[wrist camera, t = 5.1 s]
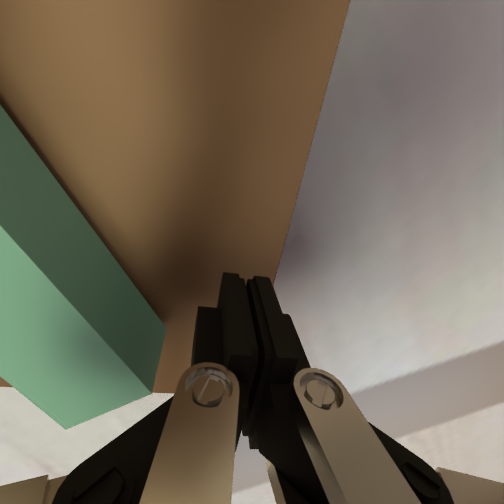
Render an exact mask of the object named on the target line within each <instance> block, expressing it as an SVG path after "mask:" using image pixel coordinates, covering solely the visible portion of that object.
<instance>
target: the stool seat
mask: <svg viewBox="0 0 504 504" xmlns="http://www.w3.org/2000/svg"><path fill="white" fill-rule="evenodd" d="M349 3H350V0H0V105H1V106H2V108H3V109H4V110H5V112H6V113H7V114H8V116H9V117H10V118H11V120H12V121H13V122H14V124H15V125H16V126H17V128H18V129H19V130H20V132H21V133H22V135H23V136H24V137H25V139H26V140H27V141H28V143H29V144H30V145H31V147H32V148H33V149H34V151H35V152H36V153H37V155H38V156H39V157H40V159H41V160H42V161H43V163H44V164H45V165H46V167H47V168H48V169H49V171H50V172H51V174H52V175H53V176H54V178H55V179H56V180H57V182H58V183H59V184H60V186H61V187H62V188H63V190H64V191H65V192H66V194H67V195H68V196H69V198H70V199H71V200H72V202H73V203H74V204H75V206H76V207H77V208H78V210H79V211H80V212H81V214H82V215H83V217H84V218H85V219H86V221H87V222H88V223H89V225H90V226H91V227H92V229H93V230H94V231H95V233H96V234H97V235H98V237H99V238H100V239H101V241H102V242H103V243H104V245H105V246H106V247H107V249H108V250H109V251H110V253H111V254H112V255H113V257H114V258H115V260H116V261H117V262H118V264H119V265H120V266H121V268H122V269H123V270H124V272H125V273H126V274H127V276H128V277H129V278H130V280H131V281H132V282H133V284H134V285H135V286H136V288H137V289H138V290H139V292H140V293H141V294H142V296H143V297H144V298H145V300H146V301H147V303H148V304H149V305H150V307H151V308H152V309H153V311H154V312H155V313H156V315H157V316H158V317H159V319H160V320H161V321H162V323H163V324H164V325H165V327H166V328H167V329H166V334H165V338H164V342H163V347H162V351H161V356H160V360H159V364H158V369H157V373H156V378H155V382H154V386H153V391H152V392H154V393H175V391H176V388H177V385H178V382H179V379H180V377H181V376H182V374H183V373H184V372H185V371H186V370H187V369H188V368H189V367H191V358H192V347H193V338H194V330H195V323H196V316H197V310H198V306H203V307H214V308H217V303H218V297H219V291H220V286H221V280H222V275H223V272H228V273H237V274H239V277H240V278H244V280H245V285H246V283H247V280H248V279H253V276H263V277H269V278H270V280H271V283H272V286H273V284H274V280H275V276H276V273H277V269H278V265H279V262H280V258H281V254H282V251H283V247H284V243H285V239H286V236H287V232H288V228H289V225H290V221H291V217H292V214H293V210H294V206H295V203H296V199H297V195H298V191H299V188H300V184H301V180H302V177H303V173H304V169H305V166H306V162H307V158H308V155H309V151H310V147H311V143H312V140H313V136H314V132H315V129H316V125H317V121H318V118H319V114H320V110H321V107H322V103H323V99H324V96H325V92H326V88H327V84H328V81H329V77H330V73H331V70H332V66H333V62H334V59H335V55H336V51H337V48H338V44H339V40H340V36H341V33H342V29H343V25H344V22H345V18H346V14H347V11H348V7H349ZM0 387H13V386H12V385H10V384H9V383H8V382H7V381H5V380H4V379H3V378H2V377H0Z"/></svg>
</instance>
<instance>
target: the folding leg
mask: <svg viewBox="0 0 504 504" xmlns="http://www.w3.org/2000/svg"><path fill="white" fill-rule="evenodd" d="M166 329H167V328H166V327H165V325H164V324H163V323H162V321H161V320H160V319H159V317H158V316H157V315H156V313H155V312H154V311H153V309H152V308H151V307H150V305H149V304H148V303H147V301H146V300H145V298H144V297H143V296H142V294H141V293H140V292H139V290H138V289H137V288H136V286H135V285H134V284H133V282H132V281H131V280H130V278H129V277H128V276H127V274H126V273H125V272H124V270H123V269H122V268H121V266H120V265H119V264H118V262H117V261H116V260H115V258H114V257H113V255H112V254H111V253H110V251H109V250H108V249H107V247H106V246H105V245H104V243H103V242H102V241H101V239H100V238H99V237H98V235H97V234H96V233H95V231H94V230H93V229H92V227H91V226H90V225H89V223H88V222H87V221H86V219H85V218H84V217H83V215H82V214H81V212H80V211H79V210H78V208H77V207H76V206H75V204H74V203H73V202H72V200H71V199H70V198H69V196H68V195H67V194H66V192H65V191H64V190H63V188H62V187H61V186H60V184H59V183H58V182H57V180H56V179H55V178H54V176H53V175H52V174H51V172H50V171H49V169H48V168H47V167H46V165H45V164H44V163H43V161H42V160H41V159H40V157H39V156H38V155H37V153H36V152H35V151H34V149H33V148H32V147H31V145H30V144H29V143H28V141H27V140H26V139H25V137H24V136H23V135H22V133H21V132H20V130H19V129H18V128H17V126H16V125H15V124H14V122H13V121H12V120H11V118H10V117H9V116H8V114H7V113H6V112H5V110H4V109H3V108H2V106H1V105H0V377H2V378H3V379H4V380H5V381H7V382H8V383H9V384H10V385H12V386H13V387H14V388H15V389H16V390H18V391H19V392H20V393H21V394H23V395H24V396H25V397H26V398H28V399H29V400H30V401H31V402H32V403H34V404H35V405H36V406H37V407H39V408H40V409H41V410H42V411H43V412H45V413H46V414H47V415H48V416H50V417H51V418H52V419H53V420H55V421H56V422H57V423H58V424H59V425H61V426H62V427H63V428H64V429H68V428H71V427H73V426H76V425H78V424H80V423H83V422H85V421H87V420H90V419H92V418H95V417H97V416H99V415H102V414H104V413H107V412H109V411H111V410H114V409H116V408H119V407H121V406H123V405H126V404H128V403H130V402H133V401H135V400H138V399H140V398H142V397H145V396H147V395H150V394H152V391H153V386H154V382H155V378H156V373H157V369H158V364H159V360H160V356H161V351H162V347H163V342H164V338H165V334H166Z"/></svg>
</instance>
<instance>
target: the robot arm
mask: <svg viewBox="0 0 504 504" xmlns="http://www.w3.org/2000/svg"><path fill="white" fill-rule="evenodd" d="M241 430H242V434H243V436H248V437H249V445H250V449H259V452H260V453H261V454H262V455H263V456H264V457H265V458H266V459H267V462H266V465H267V472H268V475H269V479H270V482H271V486H272V489H273V493H274V496H275V500H276V503H277V504H504V483H500V482H496V481H492V480H488V479H484V478H480V477H476V476H472V475H468V474H464V473H460V472H456V471H452V470H448V469H444V468H440V467H437V468H436V470H434V469H433V468H432V467H431V466H429V465H428V464H427V463H426V462H425V461H423V460H422V459H421V458H419V457H418V456H416V455H415V454H414V453H412V452H411V451H409V450H408V449H406V448H405V447H404V446H402V445H401V444H399V443H398V442H396V441H395V440H394V439H392V438H391V437H389V436H388V435H386V434H385V433H383V432H382V431H381V430H379V429H378V428H376V427H375V426H373V425H372V424H371V423H369V422H368V421H367V420H366V418H365V417H364V415H363V414H362V412H361V411H360V409H359V408H358V406H357V405H356V403H355V402H354V400H353V399H352V397H351V395H350V394H349V392H348V391H347V389H346V388H345V387H344V385H343V384H342V383H341V382H340V381H339V380H338V379H337V378H336V377H335V376H333V375H332V374H330V373H328V372H326V371H324V370H321V369H317V368H311V367H310V365H309V362H308V360H307V357H306V354H305V352H304V349H303V347H302V344H301V342H300V339H299V337H298V334H297V332H296V329H295V327H294V324H293V322H292V319H291V317H290V315H288V314H283V313H282V310H281V308H280V305H279V302H278V299H277V297H276V294H275V291H274V288H273V286H272V283H271V280H270V278H269V277H263V276H253V279H248V280H247V283H246V285H245V280H244V278H240V277H239V274H237V273H228V272H223V275H222V280H221V286H220V291H219V297H218V303H217V308H214V307H203V306H198V310H197V316H196V323H195V330H194V338H193V347H192V358H191V367H189V368H188V369H187V370H186V371H185V372H184V373H183V374H182V376H181V377H180V379H179V382H178V385H177V388H176V391H175V394H174V396H173V397H171V398H170V399H169V400H167V401H166V402H165V403H163V404H162V405H161V406H159V407H158V408H156V409H155V410H154V411H152V412H151V413H150V414H148V415H147V416H145V417H144V418H143V419H141V420H140V421H139V422H137V423H136V424H134V425H133V426H132V427H130V428H129V429H128V430H126V431H125V432H123V433H122V434H121V435H119V436H118V437H117V438H115V439H114V440H113V441H111V442H110V443H108V444H107V445H106V446H104V447H103V448H102V449H100V450H99V451H97V452H96V453H95V454H93V455H92V456H91V457H89V458H88V459H86V460H85V461H84V462H82V463H81V464H80V465H79V466H77V467H76V468H75V469H74V470H73V471H72V472H71V473H70V474H69V475H67V476H63V477H59V478H55V479H51V480H49V475H44V476H40V477H36V478H32V479H28V480H24V481H20V482H16V483H11V484H7V485H3V486H0V504H231V497H232V483H233V469H234V457H235V452H236V448H237V444H238V441H239V437H240V434H241Z"/></svg>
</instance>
